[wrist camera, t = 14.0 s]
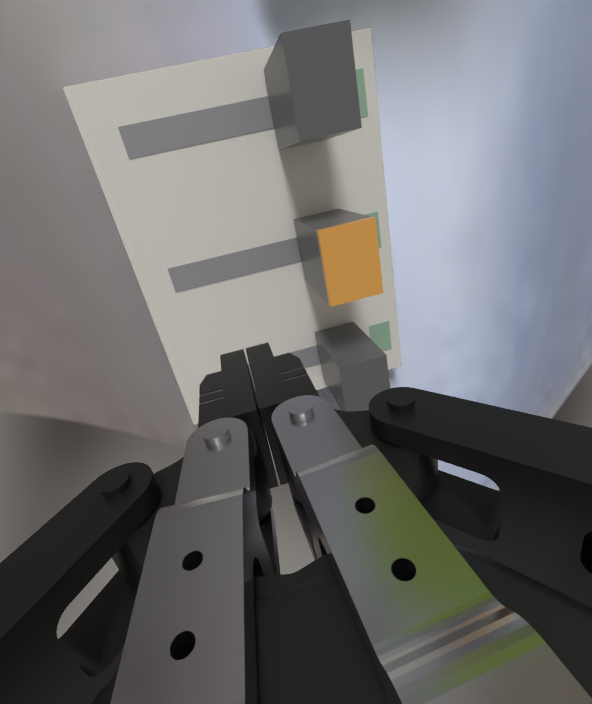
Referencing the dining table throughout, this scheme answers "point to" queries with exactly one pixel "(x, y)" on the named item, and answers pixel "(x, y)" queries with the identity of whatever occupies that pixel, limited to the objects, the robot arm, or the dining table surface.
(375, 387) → the block
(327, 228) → the block
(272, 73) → the block
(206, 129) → the breaker panel
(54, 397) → the dining table surface
